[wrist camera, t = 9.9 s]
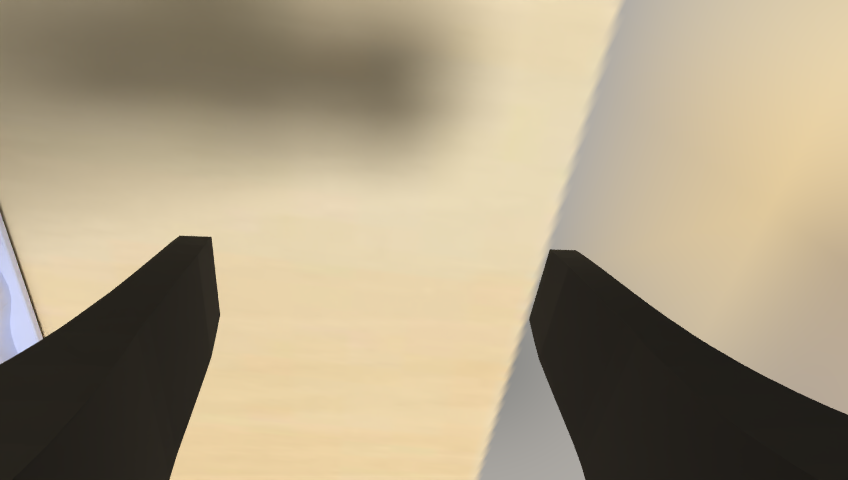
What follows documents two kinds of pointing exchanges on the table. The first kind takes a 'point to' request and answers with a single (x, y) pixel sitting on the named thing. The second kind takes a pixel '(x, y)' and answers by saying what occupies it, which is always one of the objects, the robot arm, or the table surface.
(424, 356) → the table surface
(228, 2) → the table surface
